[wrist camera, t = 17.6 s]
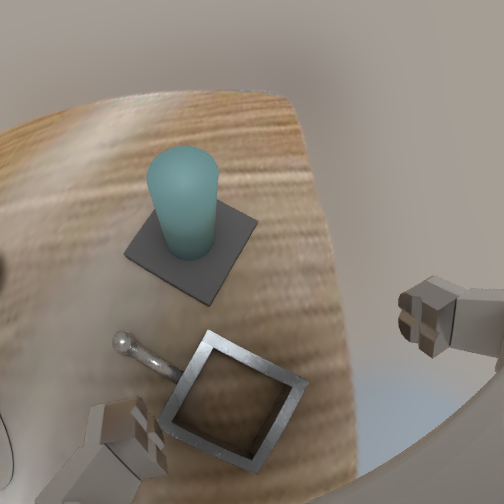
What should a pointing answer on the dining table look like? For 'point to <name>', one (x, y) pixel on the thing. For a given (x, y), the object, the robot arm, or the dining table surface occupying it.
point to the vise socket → (184, 380)
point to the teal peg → (185, 199)
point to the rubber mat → (200, 270)
